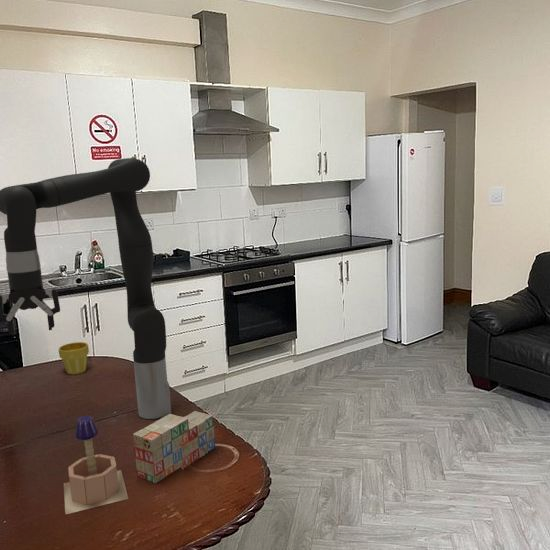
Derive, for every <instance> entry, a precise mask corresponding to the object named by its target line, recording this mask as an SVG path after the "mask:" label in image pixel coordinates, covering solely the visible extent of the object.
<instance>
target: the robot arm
mask: <svg viewBox="0 0 550 550" xmlns="http://www.w3.org/2000/svg"><path fill="white" fill-rule="evenodd" d="M150 179H151V171H150V169H149V166H148V165H147V164H146V162H144V161H143V160H141V159H138V158H133V157H128V158H127V157H126V158H118V159H115V160H113V161H111V162H110V164H109V165H108V167H107V168H105V169H100V170H97V171H89V172H81V173H73V174H66V175H61V176H56V177H55V176H54V177H51V178H47V179H44V180H40V181H36V182H29V183H22V184H16V185H11V186H10V185H9V186H5V187H3V188H2V189H0V212H1V213H2V214H5V215H6V222H7V224H6V225H7V227H6V228H5V229H4V232H3V240H4V246H5V247H4V248H5V263H6V267H5V268H6V269H5V270H6V272H7V279H8V280H7V281H8V287H9V294H2V293H0V321H1V320H2V321H5V322H6V326H7V329H8V331H7V332H8V334H11V336H15V335H16V329H15V328H16V327H15V321H14V320H15V319H14V316H15V315H16V314H17V312H18V311H19V310H20V311H21V310H22V311H26V310H30V309H31V310H33V309H34V310H35V309H37V308H39V309H41V310H42V311H43V312H44V313H45V314H46V315H47V323H48V331H52V330H53V328H55V320H54V319H55V318H54V316H55V314H57V313H60V312H61V306H60V305H61V304H60V300H59V295H58V290H57V288H56V287H53V288H51V289H47V290H46V289H44V284H43V275H42V267H41V261H40V260H41V259H40V256H39V252H38V244H37V239H36V238H37V237H36V232H35V231H36V224H37V210H38V209H45V208H46V209H47V208H56V207H60V206H64V205H67V204H72V203H76V202H80V201H83V200H86V199H89V198H95V197H98V196H103V195H106V194H110V198H111V202H112V205H113V206H112V207H113V211H114V219H115V226H116V233H117V240H118V241H117V242H118V250H119V259H120V262H121V263H120V264H121V268H122V274H123V275H122V276H123V279H124V284H125V288H126V289H125V290H126V301H127V303H126V306H127V313H126V314H127V324H128V326H129V329H130V330H132V331H133V339H134V341H133V342H134V349H133V351H132V357H133V368H134V379H135V380H134V381H135V389H136V403H137V410H138V411H137V412H138V417H140V418H142V419H147V420H154V419H159V418H160V419H161V418H163V417H165V416H167V415H168V414H172V405H171V393H170V390H171V389H170V383H169V381H168V374H167V360H166V350H167V332H166V331H167V329H166V321H165V320H166V319H165V317H164V314H163V313H162V312H161V310H159V309H157V308H156V305H155V301H154V296H153V291H152V290H153V289H152V277H153V270H154V262H155V261H154V249H153V242H152V241H153V240H152V237H151V234H150V231H149V229H148V227H147V224H146V223H145V221H144V219H143V217H142V215H141V212H140V209H139V206H138V200H137V192H140V191H141V190H143V189H145V188H146V187H147V185H148V184H149V182H150ZM46 296H48V297H49V298H50V299H52V301H53V306H54V307H52V308H51V307H49V305H48V304H47V303H46V302H45V301H44V299H45V297H46ZM7 300H9V301H10V302H11V303H12V304H13V305H12V307H11V308H10V310H9V312H8V314H7V313H4V311H5V309H4V304H6V303H7Z"/></svg>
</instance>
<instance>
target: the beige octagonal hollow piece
mask: <svg viewBox="0 0 550 550" xmlns="http://www.w3.org/2000/svg"><path fill="white" fill-rule="evenodd" d="M94 455H95V459H94V460H95V462H96V465H95V466H96V469H97V471H96V472H97V475H92V476H89V474H90V473H89V472H88V468H89V467H88V465H87V462H88V461H87V459H86V456H84V457H82V458H80V459H78V460H76V461H75V462H74V463H72V464H70V465H69V466H68V467H67V468H68V469H67V470H68V479H69V482H70V489H71V497H72V501H73V502H77V503H81V504H85V505H89V504H93V503H97V502H101V501H105V500H108V499H109V498H110V497H111V496H112V495H114V494H115V493H116V492H117V491H118V490H119V486H118V476H117V471H118V469H117V463H116V458H115V456H113V455H111V456H110V455H106V454H101V453H100V454H94Z"/></svg>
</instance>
